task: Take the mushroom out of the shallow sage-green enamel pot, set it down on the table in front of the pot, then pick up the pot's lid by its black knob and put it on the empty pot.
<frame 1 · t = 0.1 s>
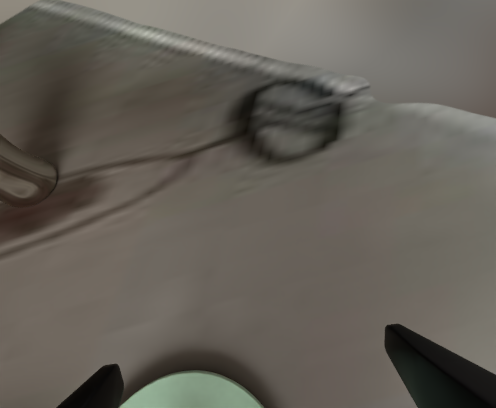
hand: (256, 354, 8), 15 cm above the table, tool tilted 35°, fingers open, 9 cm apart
beer glass: (32, 183, 26), on the table
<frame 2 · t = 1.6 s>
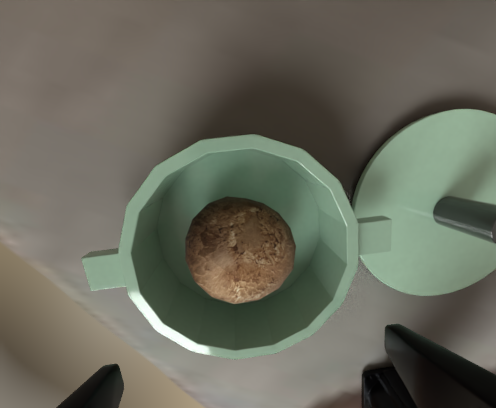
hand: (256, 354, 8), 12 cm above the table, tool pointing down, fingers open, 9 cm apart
lid: (440, 209, 20), point 1 cm above the table
mushroom: (240, 232, 20), resting on pot
pot: (240, 231, 20), on the table
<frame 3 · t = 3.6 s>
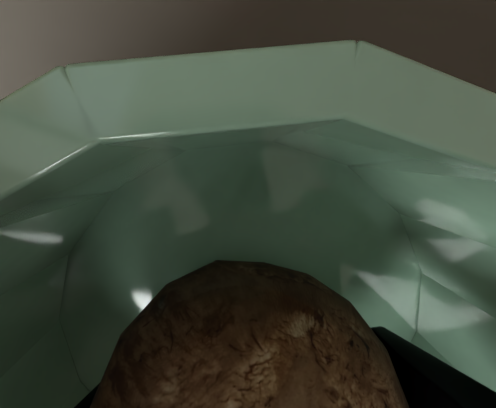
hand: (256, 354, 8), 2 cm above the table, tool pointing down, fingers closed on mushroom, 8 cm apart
mushroom: (250, 321, 9), resting on pot, touching gripper
pot: (249, 320, 9), on the table
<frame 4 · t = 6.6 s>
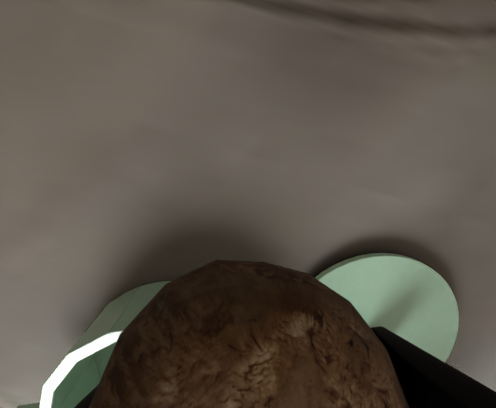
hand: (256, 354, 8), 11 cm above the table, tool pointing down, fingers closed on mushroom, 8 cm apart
lid: (367, 334, 21), point 1 cm above the table
mushroom: (249, 321, 9), point 10 cm above the table, touching gripper
pot: (176, 356, 21), on the table
when the fingers open (1 cm above the table, at t = 9.6 s): mushroom stays where it is, on the table.
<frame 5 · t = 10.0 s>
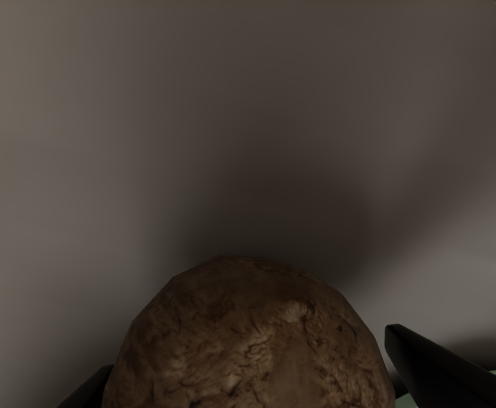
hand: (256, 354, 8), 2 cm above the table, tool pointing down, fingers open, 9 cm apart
mushroom: (249, 314, 10), on the table
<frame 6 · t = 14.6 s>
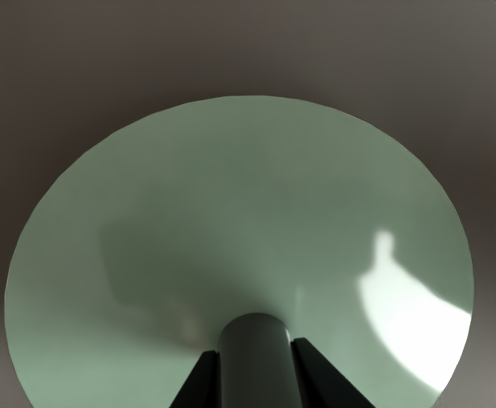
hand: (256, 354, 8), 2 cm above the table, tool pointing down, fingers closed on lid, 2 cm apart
lid: (253, 330, 9), point 1 cm above the table, touching gripper
when the fingers open (8 cm above the table, at t = 18.7 s): lid drops 1 cm, resting on pot.
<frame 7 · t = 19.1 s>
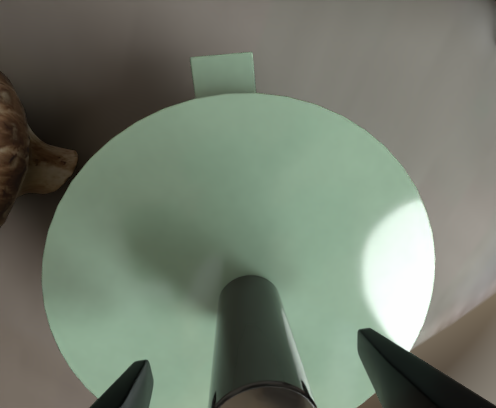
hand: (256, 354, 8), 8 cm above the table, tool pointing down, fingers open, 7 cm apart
lid: (248, 293, 10), point 5 cm above the table, touching pot
mushroom: (26, 152, 13), on the table
pot: (244, 253, 15), on the table
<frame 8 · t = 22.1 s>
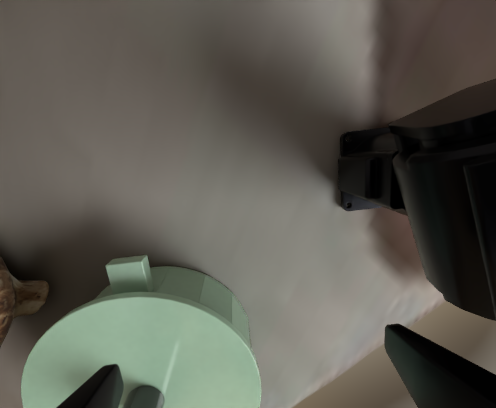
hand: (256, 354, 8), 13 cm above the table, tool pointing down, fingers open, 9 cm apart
lid: (149, 391, 16), point 5 cm above the table, touching pot
mushroom: (15, 280, 20), on the table
pot: (170, 339, 22), on the table
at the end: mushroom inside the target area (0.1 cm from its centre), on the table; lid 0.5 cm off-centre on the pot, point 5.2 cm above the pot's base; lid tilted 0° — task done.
